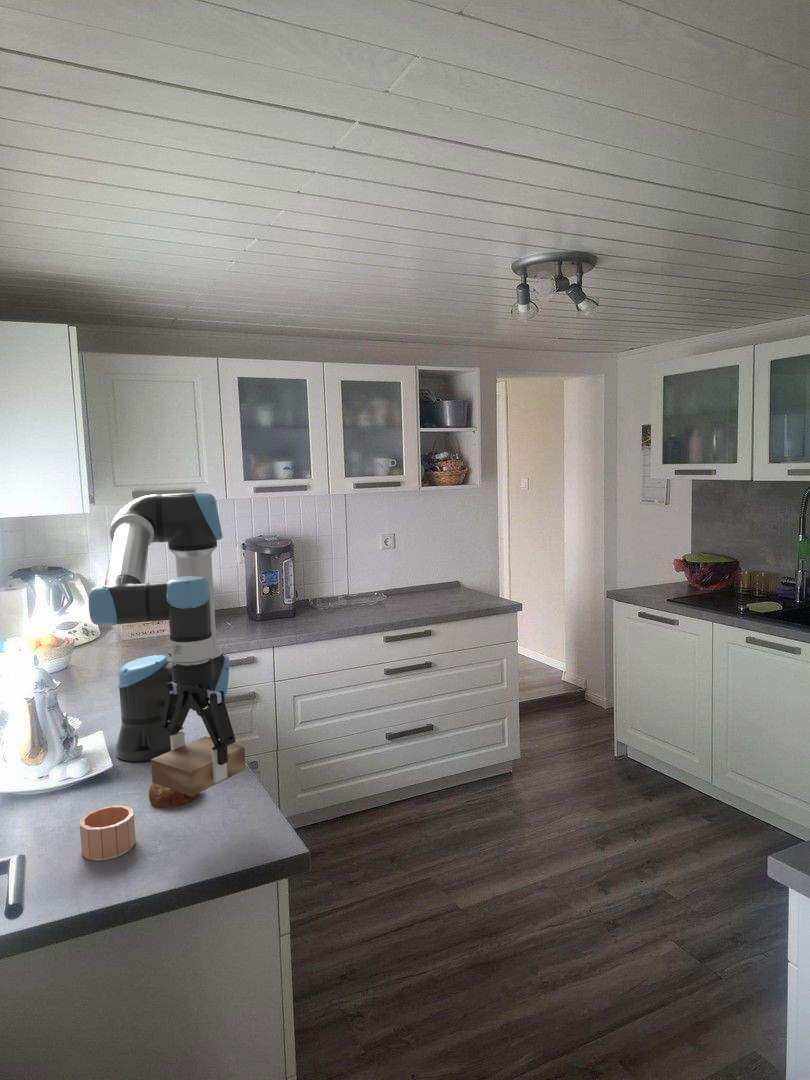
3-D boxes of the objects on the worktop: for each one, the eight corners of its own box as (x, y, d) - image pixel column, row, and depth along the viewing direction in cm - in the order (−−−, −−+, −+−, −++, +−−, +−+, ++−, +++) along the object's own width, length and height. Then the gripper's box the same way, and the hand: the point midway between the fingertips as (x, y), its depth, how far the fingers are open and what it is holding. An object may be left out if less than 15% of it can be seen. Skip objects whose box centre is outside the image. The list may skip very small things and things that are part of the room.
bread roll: (170, 803, 159) (152, 772, 158) (210, 783, 158) (193, 752, 158) (153, 825, 149) (134, 792, 149) (195, 804, 148) (177, 770, 148)
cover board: (207, 757, 144) (205, 736, 143) (245, 769, 138) (244, 746, 137) (152, 782, 133) (150, 759, 133) (191, 796, 127) (190, 772, 126)
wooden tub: (116, 830, 139) (114, 801, 139) (145, 843, 134) (143, 812, 134) (71, 852, 132) (69, 821, 131) (101, 866, 127) (98, 834, 126)
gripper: (136, 656, 136) (143, 766, 139) (219, 674, 123) (226, 795, 126) (169, 647, 143) (175, 753, 145) (251, 663, 129) (257, 779, 132)
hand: (199, 772), depth 135 cm, fingers closed on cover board, 11 cm apart
